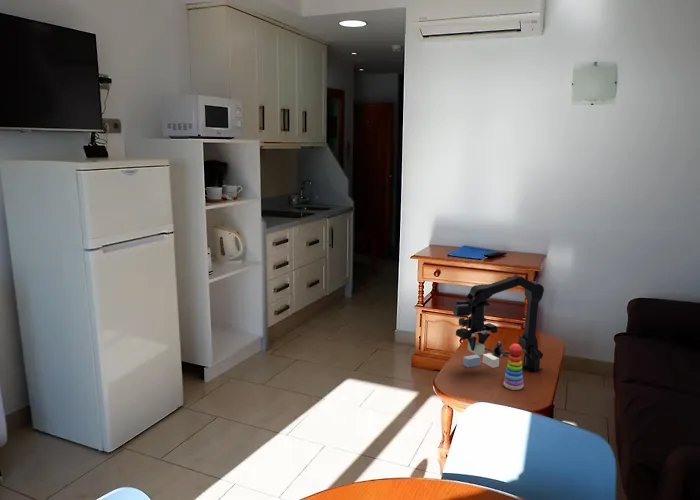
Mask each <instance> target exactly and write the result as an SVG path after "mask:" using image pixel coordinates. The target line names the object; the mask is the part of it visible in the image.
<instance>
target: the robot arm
mask: <svg viewBox="0 0 700 500" xmlns="http://www.w3.org/2000/svg"><path fill="white" fill-rule="evenodd" d="M517 287H522V288H524V296H525V299H526V308H525V309H526V311H525V321H524V331H523V333H522V335H518V342H517V344H519V345H520V346H521V348H522V353H524V356H523V363H522V369H524V370H526V371H528V372H530V373H535V372H538V371H542V370H543V368H542V367H540V363H541V359H543V357H544V353H542V351H541V350H540V349H539V341H538V338H537V334H536V333H537V323H538V314H539V313H538V312H539V304H540V302H541V300H543V299H542V298H543V296H544V292H545V288H544V285H542V284H541V283H538V282H536V281H534V280H529V279H526V278H525V277H523V276H522V275H519V274H515V275H513V276H510V277H507V278H504V279H502V280H498V281H494V282H492V283H487V284H484V283H483V284H476V285H473V286H471V288H470V290H469V292H468V294H467V295H466V296H465V298H464V300H455V301H454V304H453V306H452V313H453V315H454V317H457V318H458V325H459V326H462V328H458V329H456V330H455V336H456V337H459V338H461V339H463V340H467V342H468V341H469V344H470V347H471V350H472V351H474V348H475V344H476V341H477V342H479V343H481V344H483V345H485V344H486V343H485V342H486V341H487V340H488V338H489V337H490V336H491V334H497V333H499V332H498V331H499V328H498V327H497V325H495V324H493V323H490V322H488V323H485V322H486V321H487V318H486V317H485V313H486V312H485V311H486V307H487V306H491V304H490V303H489V301H488V299H489V300H490V298H491V297H493V296H494V295H496V294H498V293H501V292H504V291H508V290H510V289H513V288H517ZM459 317H460V318H459ZM465 317H468V318H466V319H465ZM465 327H466V328H465ZM489 331H490V332H491V333H489ZM475 334H477V337H478V338H477V337H476V335H475Z"/></svg>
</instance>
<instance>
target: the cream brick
mask: <svg viewBox="0 0 700 500" xmlns="http://www.w3.org/2000/svg"><path fill="white" fill-rule="evenodd" d="M490 353H491V352H490ZM490 353H488V352H487V353H484V354H482V363H483V364H484V365H486V366H488V367H489V368H491V369H494V368H498V367H500V366H499V365H500V357H495V356H493V355H491V354H490Z"/></svg>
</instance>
